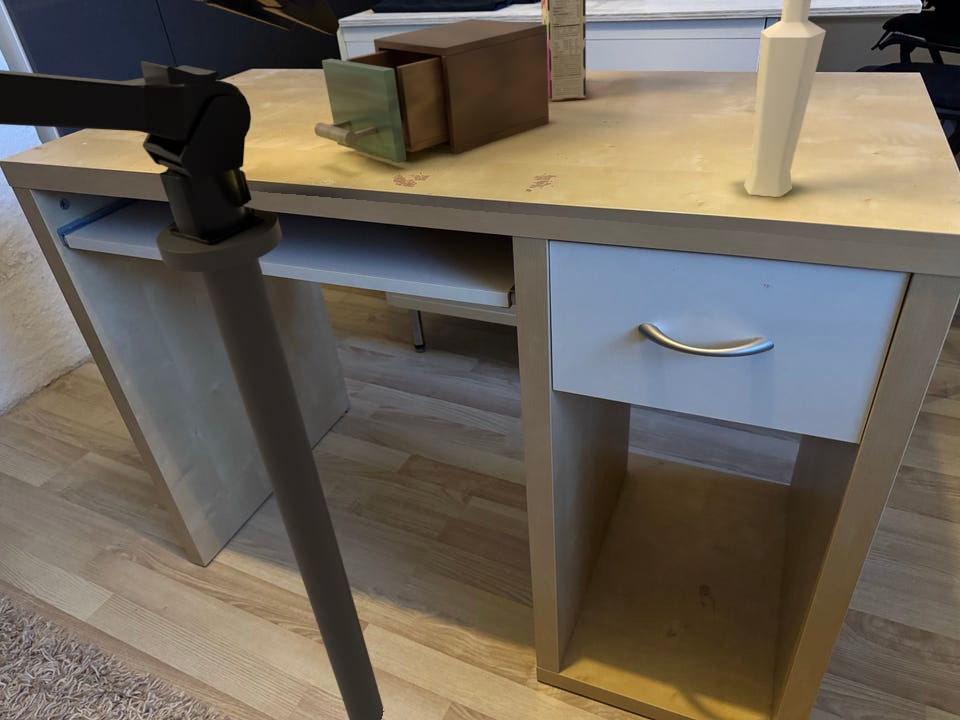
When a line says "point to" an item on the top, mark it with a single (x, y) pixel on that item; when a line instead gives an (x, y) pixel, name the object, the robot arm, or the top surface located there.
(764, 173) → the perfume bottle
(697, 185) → the top surface
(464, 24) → the cabinet
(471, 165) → the top surface
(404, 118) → the drawer
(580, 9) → the candy bar box
